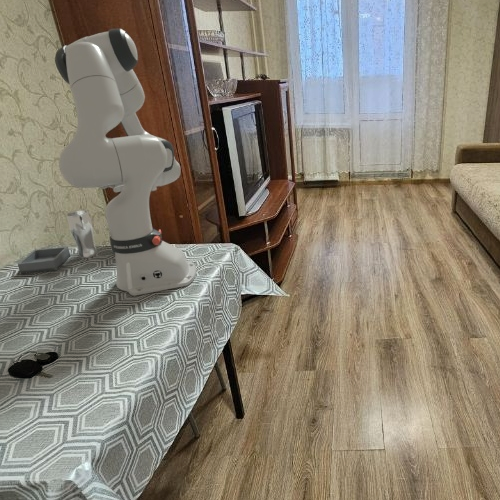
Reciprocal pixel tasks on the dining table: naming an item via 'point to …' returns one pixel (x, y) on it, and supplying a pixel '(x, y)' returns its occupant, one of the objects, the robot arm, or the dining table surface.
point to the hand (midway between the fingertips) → (106, 188)
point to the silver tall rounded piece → (82, 232)
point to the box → (44, 260)
